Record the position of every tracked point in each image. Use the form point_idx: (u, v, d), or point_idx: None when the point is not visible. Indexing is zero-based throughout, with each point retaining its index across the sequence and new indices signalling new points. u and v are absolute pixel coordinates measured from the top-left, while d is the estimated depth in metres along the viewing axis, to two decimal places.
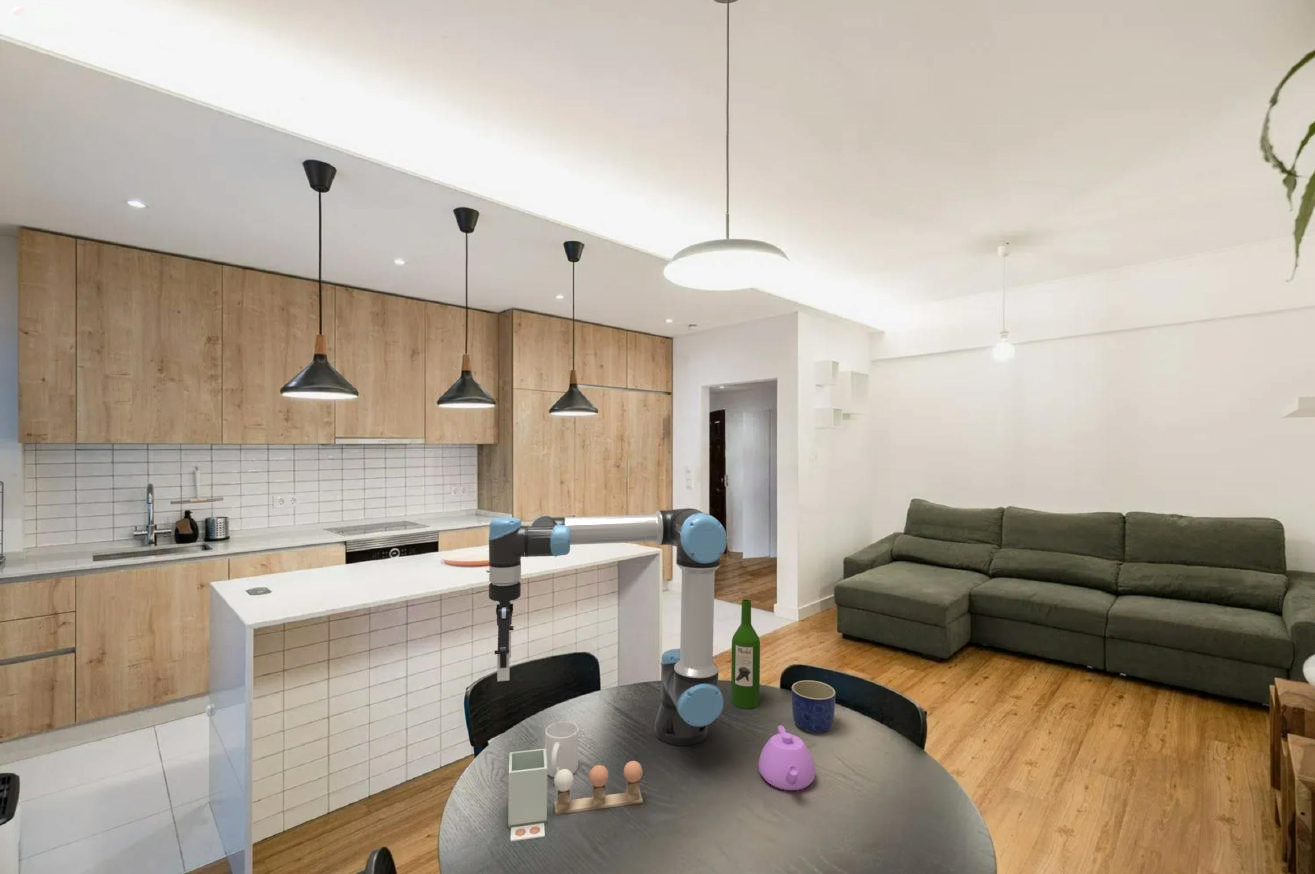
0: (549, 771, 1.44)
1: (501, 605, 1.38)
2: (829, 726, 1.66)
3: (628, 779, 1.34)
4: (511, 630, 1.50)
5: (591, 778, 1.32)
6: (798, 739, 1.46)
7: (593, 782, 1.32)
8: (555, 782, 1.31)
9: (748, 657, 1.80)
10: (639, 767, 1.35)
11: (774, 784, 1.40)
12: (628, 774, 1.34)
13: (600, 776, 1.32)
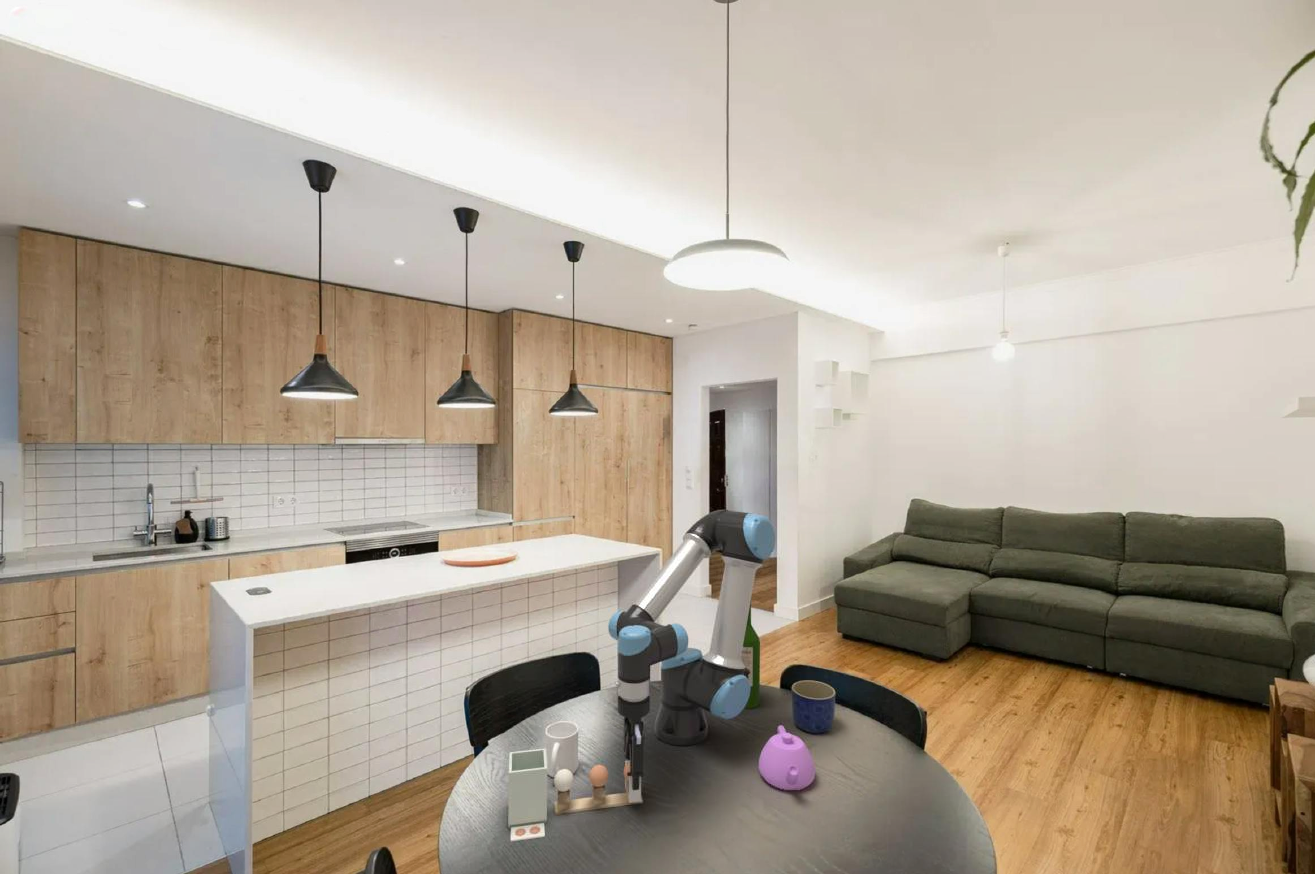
0: (549, 771, 1.44)
1: (633, 723, 1.32)
2: (829, 726, 1.66)
3: (628, 779, 1.34)
4: None
5: (591, 778, 1.32)
6: (798, 739, 1.46)
7: (593, 782, 1.32)
8: (555, 782, 1.31)
9: (748, 657, 1.80)
10: None
11: (774, 784, 1.40)
12: None
13: (600, 776, 1.32)
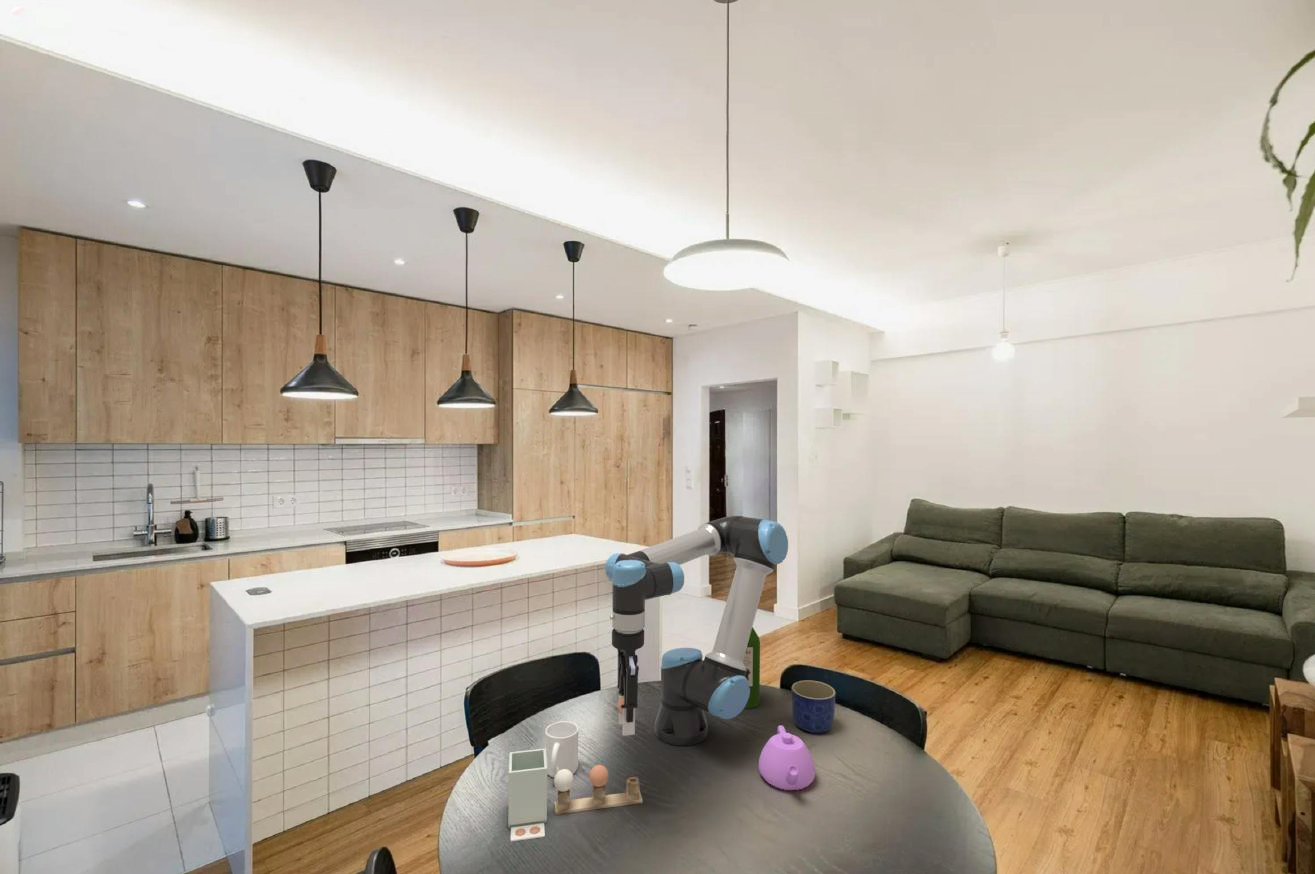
0: (549, 771, 1.44)
1: (628, 654, 1.31)
2: (829, 726, 1.66)
3: (622, 712, 1.33)
4: None
5: (591, 778, 1.32)
6: (798, 739, 1.46)
7: (593, 782, 1.32)
8: (555, 782, 1.31)
9: (748, 657, 1.80)
10: None
11: (774, 784, 1.40)
12: None
13: (600, 776, 1.32)
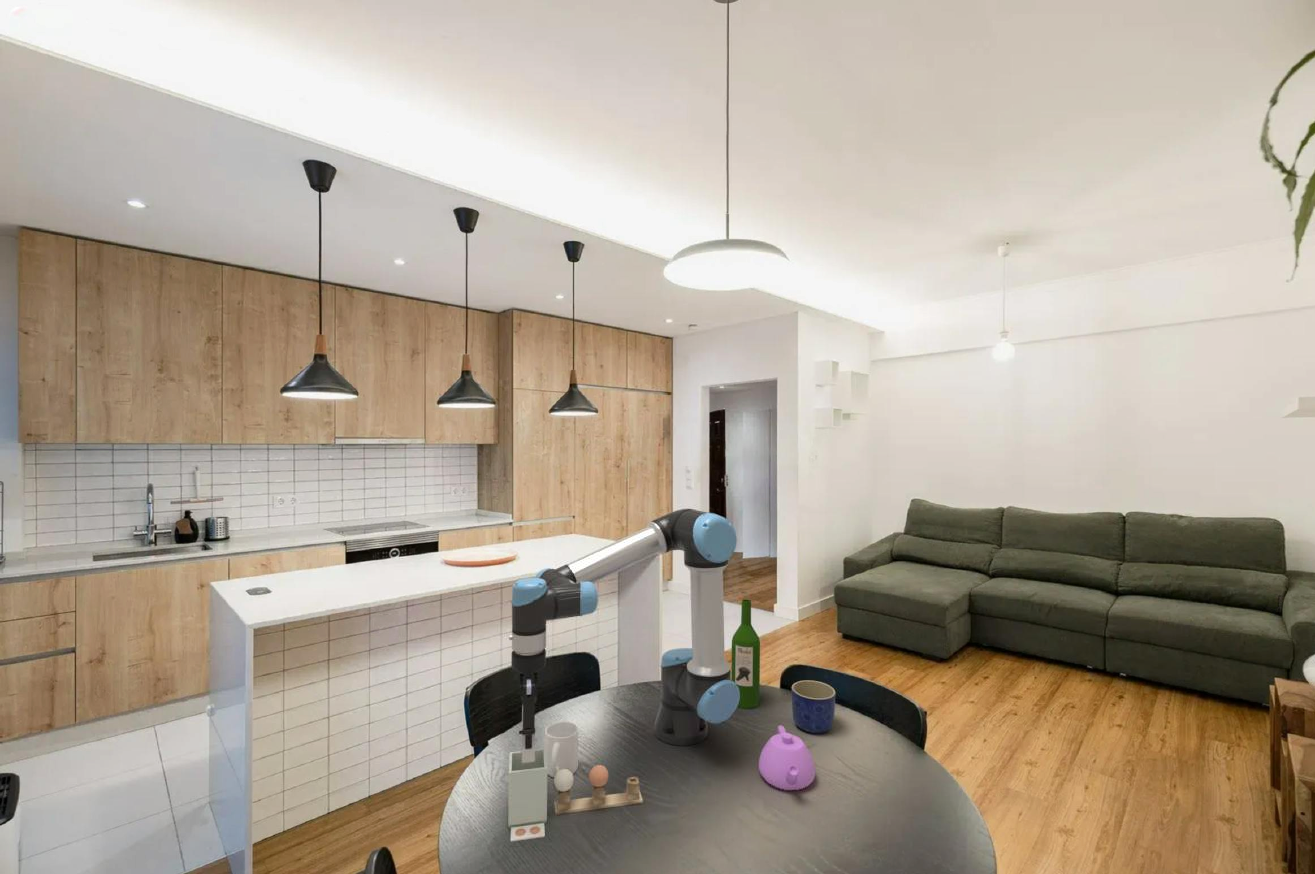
0: (549, 771, 1.44)
1: (525, 677, 1.26)
2: (829, 726, 1.66)
3: None
4: (534, 702, 1.37)
5: (591, 778, 1.32)
6: (798, 739, 1.46)
7: (593, 782, 1.32)
8: (555, 782, 1.31)
9: (748, 657, 1.80)
10: None
11: (774, 784, 1.40)
12: None
13: (600, 776, 1.32)
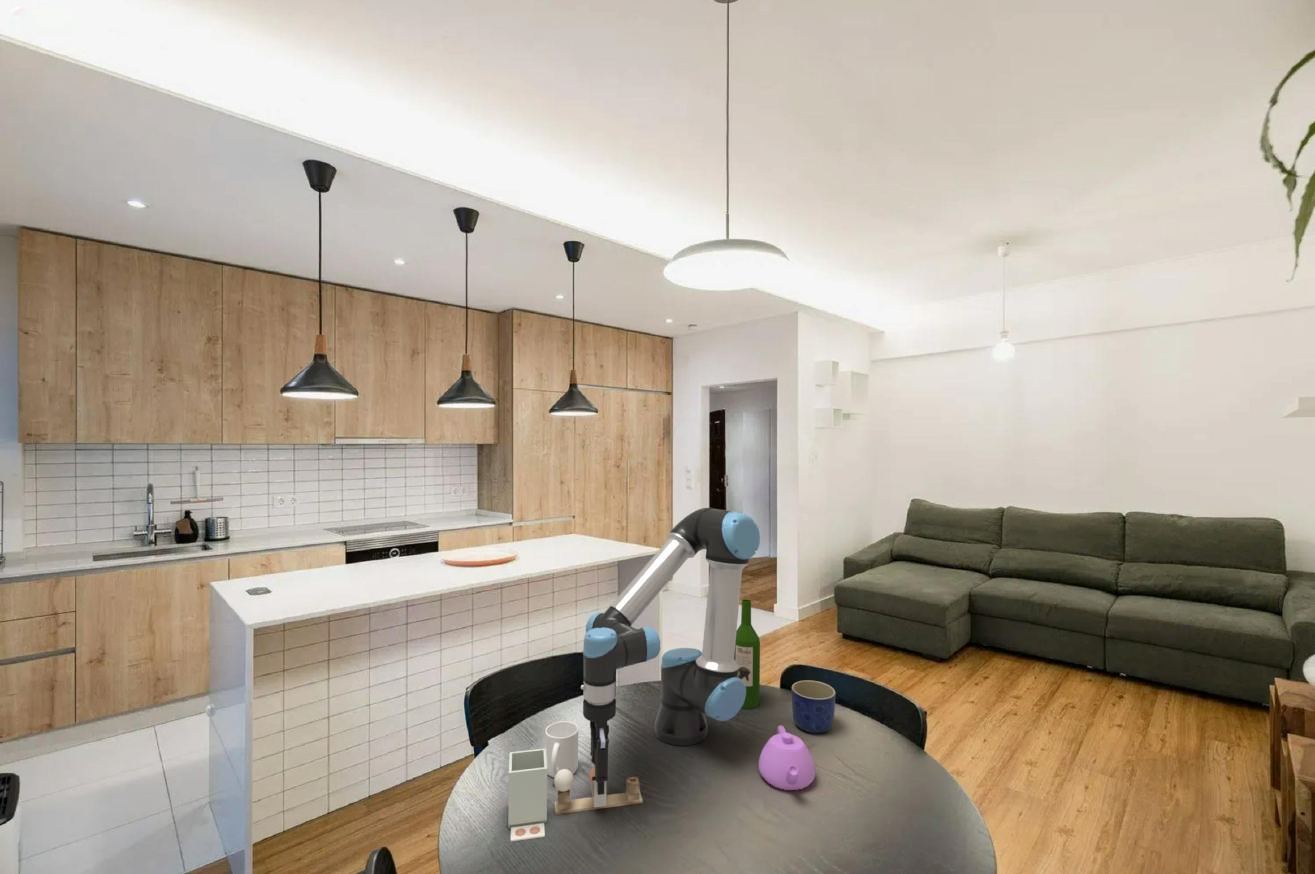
0: (549, 771, 1.44)
1: (598, 726, 1.30)
2: (829, 726, 1.66)
3: None
4: None
5: (591, 778, 1.32)
6: (798, 739, 1.46)
7: (593, 782, 1.32)
8: (555, 782, 1.31)
9: (748, 657, 1.80)
10: None
11: (774, 784, 1.40)
12: None
13: None
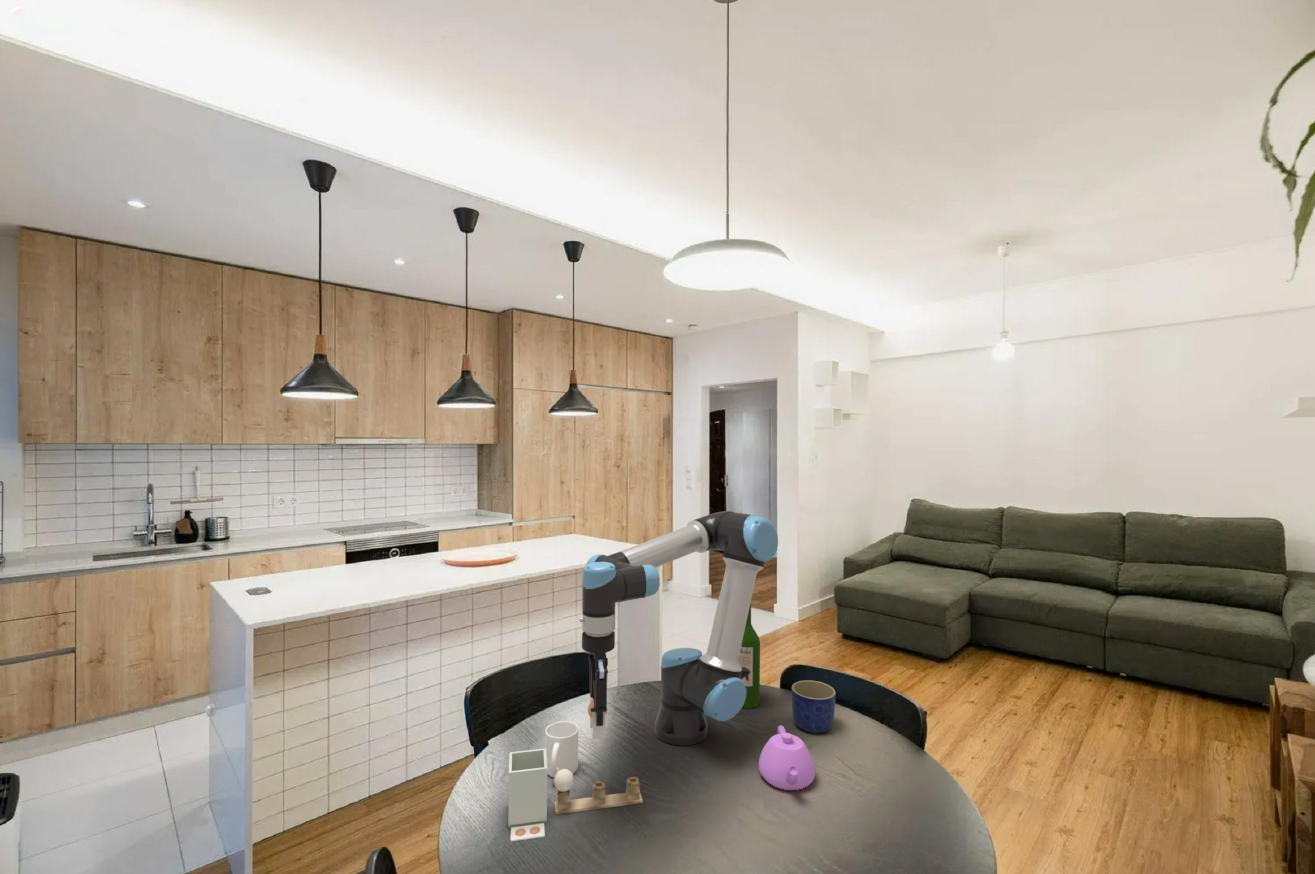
0: (549, 771, 1.44)
1: (597, 657, 1.30)
2: (829, 726, 1.66)
3: None
4: None
5: (590, 711, 1.32)
6: (798, 739, 1.46)
7: (591, 714, 1.32)
8: (555, 782, 1.31)
9: (748, 657, 1.80)
10: None
11: (774, 784, 1.40)
12: None
13: None
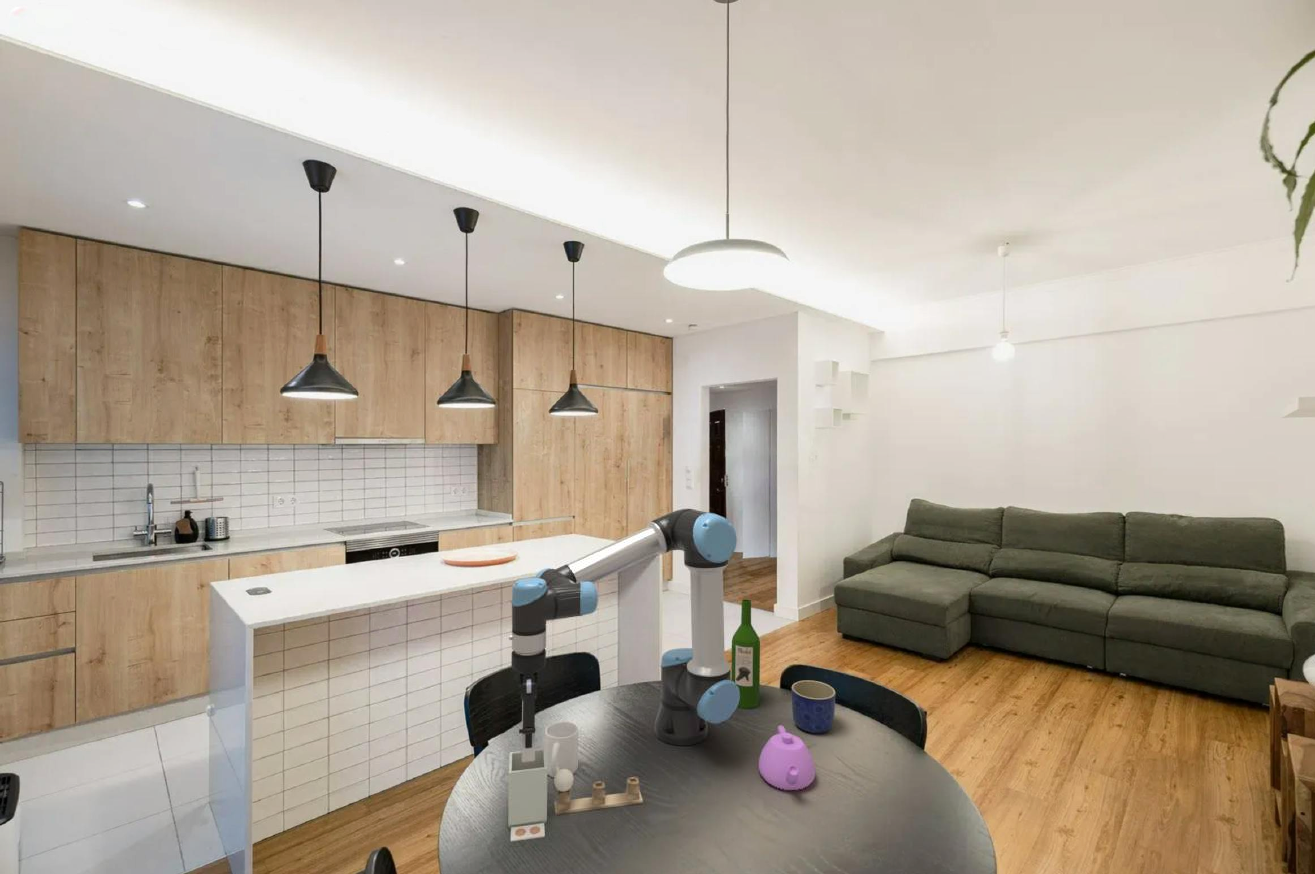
0: (549, 771, 1.44)
1: (525, 677, 1.26)
2: (829, 726, 1.66)
3: None
4: None
5: None
6: (798, 739, 1.46)
7: None
8: (555, 782, 1.31)
9: (748, 657, 1.80)
10: None
11: (774, 784, 1.40)
12: None
13: None
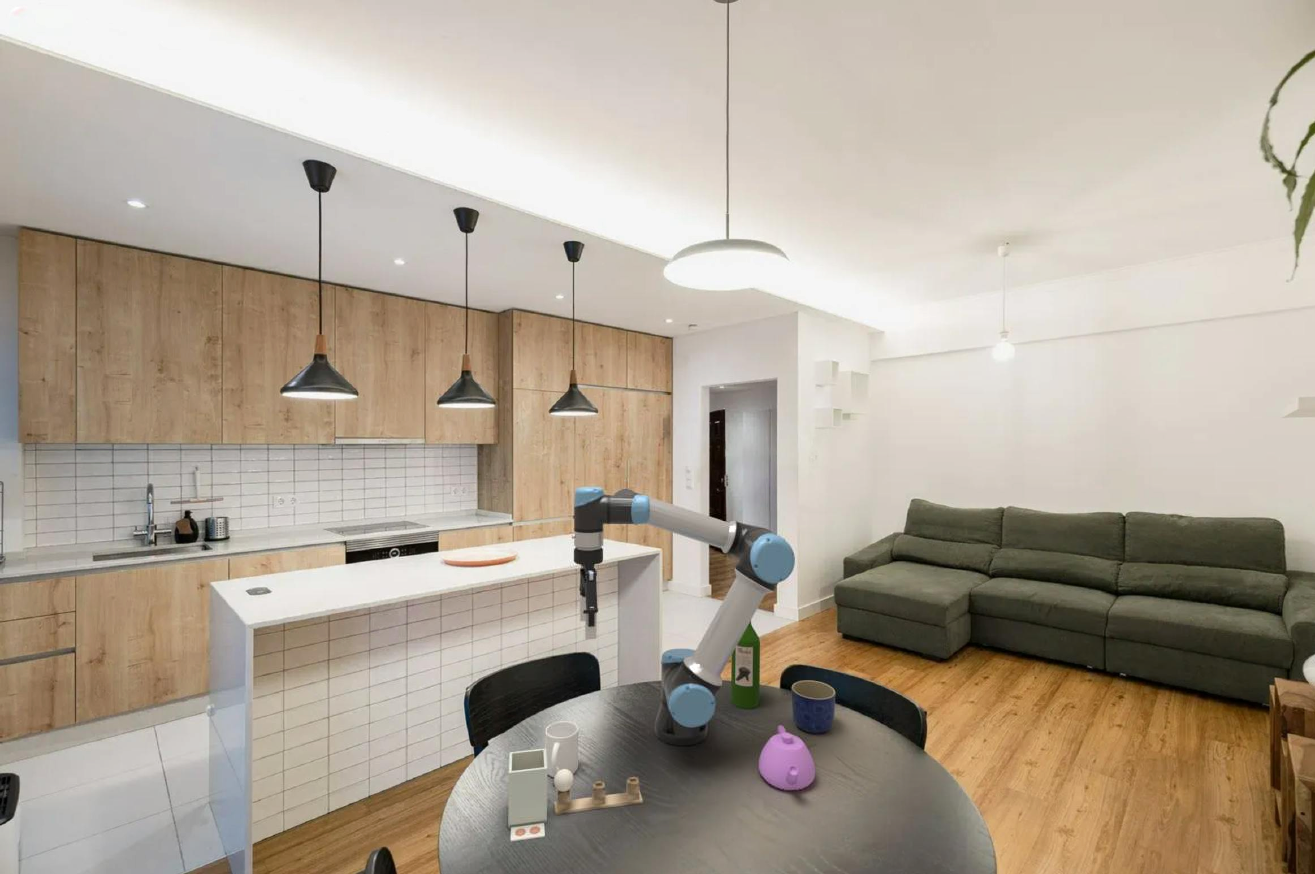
0: (549, 771, 1.44)
1: (587, 568, 1.46)
2: (829, 726, 1.66)
3: None
4: None
5: None
6: (798, 739, 1.46)
7: None
8: (555, 782, 1.31)
9: (748, 657, 1.80)
10: None
11: (774, 784, 1.40)
12: None
13: None
